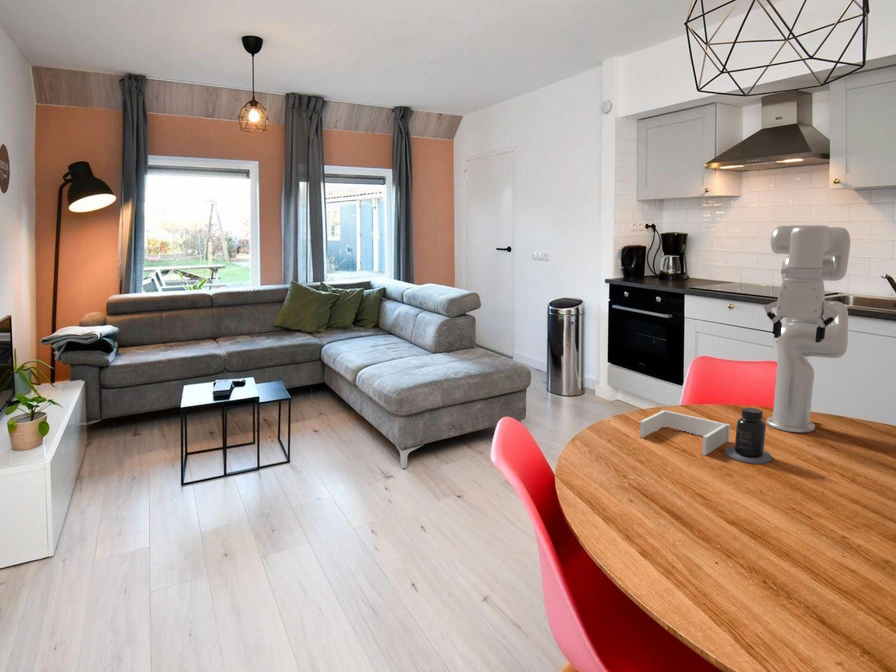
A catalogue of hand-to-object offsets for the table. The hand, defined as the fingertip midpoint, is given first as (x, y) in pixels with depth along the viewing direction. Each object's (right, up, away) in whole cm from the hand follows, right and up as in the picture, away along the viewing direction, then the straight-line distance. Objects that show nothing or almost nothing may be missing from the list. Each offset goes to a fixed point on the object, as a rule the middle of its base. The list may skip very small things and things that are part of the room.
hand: (797, 339), depth 149 cm
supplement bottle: (-13, -31, +1) cm, 33 cm away
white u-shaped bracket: (-25, -29, +13) cm, 41 cm away
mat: (-13, -31, +1) cm, 33 cm away
